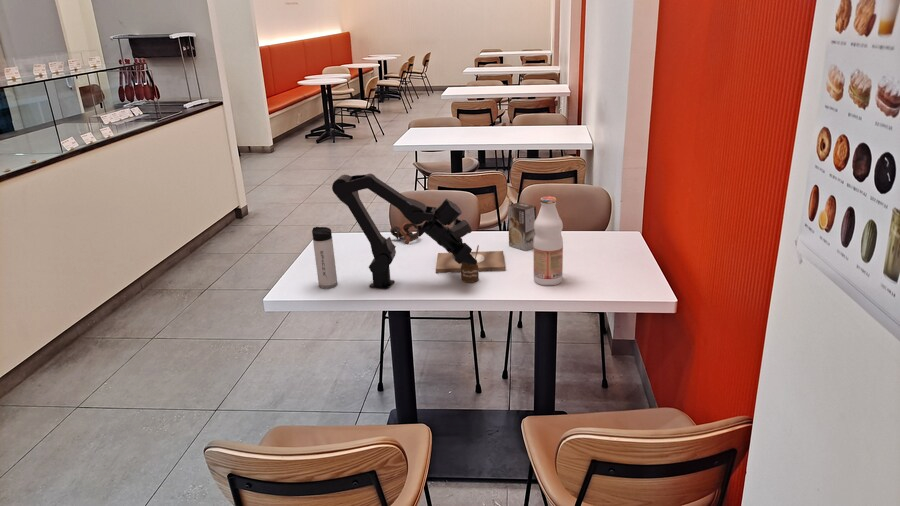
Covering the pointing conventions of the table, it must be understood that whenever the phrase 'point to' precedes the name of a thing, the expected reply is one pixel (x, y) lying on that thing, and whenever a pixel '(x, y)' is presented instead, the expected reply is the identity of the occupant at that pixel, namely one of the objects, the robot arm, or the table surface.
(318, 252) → the travel mug
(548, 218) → the fruit juice
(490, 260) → the walnut board
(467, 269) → the utensil holder
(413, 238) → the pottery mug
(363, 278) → the table surface
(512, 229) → the coffee box
